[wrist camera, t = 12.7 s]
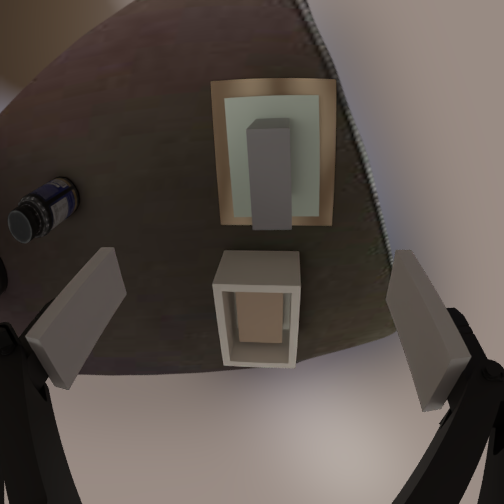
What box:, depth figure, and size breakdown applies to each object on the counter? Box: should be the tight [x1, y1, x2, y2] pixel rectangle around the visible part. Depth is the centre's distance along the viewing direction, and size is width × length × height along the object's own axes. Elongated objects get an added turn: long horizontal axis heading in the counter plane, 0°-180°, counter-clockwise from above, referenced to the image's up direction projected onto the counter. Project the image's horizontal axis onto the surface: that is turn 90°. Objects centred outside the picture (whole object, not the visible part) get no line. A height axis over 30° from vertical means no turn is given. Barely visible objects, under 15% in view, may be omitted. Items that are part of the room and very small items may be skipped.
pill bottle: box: [8, 177, 79, 243], centre depth 37 cm, size 6×6×11 cm
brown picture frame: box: [211, 78, 336, 226], centre depth 37 cm, size 14×18×1 cm
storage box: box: [212, 250, 301, 368], centre depth 43 cm, size 10×14×8 cm
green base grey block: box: [224, 95, 320, 230], centre depth 32 cm, size 10×14×11 cm
